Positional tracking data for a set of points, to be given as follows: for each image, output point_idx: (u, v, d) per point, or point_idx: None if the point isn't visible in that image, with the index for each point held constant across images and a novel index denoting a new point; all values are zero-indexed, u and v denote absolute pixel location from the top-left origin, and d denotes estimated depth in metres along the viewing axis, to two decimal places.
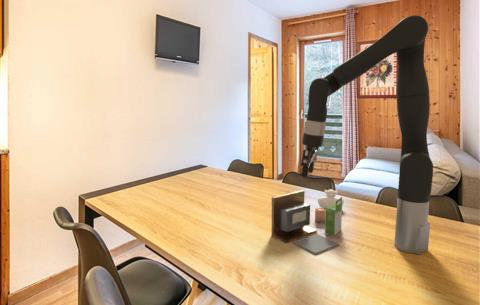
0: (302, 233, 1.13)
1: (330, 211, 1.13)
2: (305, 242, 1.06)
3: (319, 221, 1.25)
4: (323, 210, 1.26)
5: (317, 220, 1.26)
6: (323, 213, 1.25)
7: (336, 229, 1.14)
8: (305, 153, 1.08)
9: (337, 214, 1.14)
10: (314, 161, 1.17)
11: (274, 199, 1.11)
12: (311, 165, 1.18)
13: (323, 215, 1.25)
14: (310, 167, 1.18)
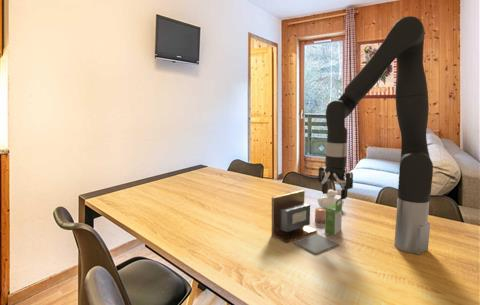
0: (302, 233, 1.13)
1: (330, 211, 1.13)
2: (305, 242, 1.06)
3: (319, 221, 1.25)
4: (323, 210, 1.26)
5: (317, 220, 1.26)
6: (323, 213, 1.25)
7: (336, 229, 1.14)
8: (350, 176, 1.07)
9: (337, 214, 1.14)
10: (328, 181, 1.18)
11: (274, 199, 1.11)
12: (326, 186, 1.18)
13: (323, 215, 1.25)
14: (326, 188, 1.18)
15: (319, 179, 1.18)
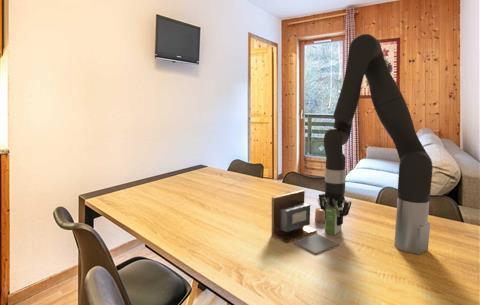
0: (302, 233, 1.13)
1: (331, 211, 1.13)
2: (305, 242, 1.06)
3: (319, 221, 1.25)
4: (323, 210, 1.26)
5: (317, 220, 1.25)
6: (323, 213, 1.25)
7: (336, 229, 1.14)
8: (348, 205, 1.09)
9: None
10: None
11: (274, 199, 1.11)
12: None
13: (323, 215, 1.25)
14: None
15: (322, 207, 1.19)
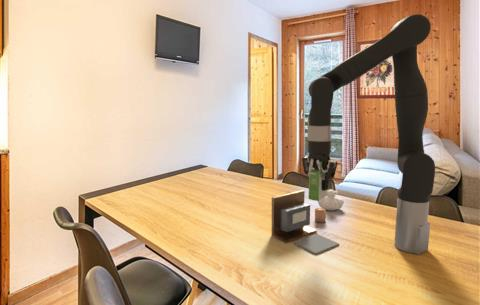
0: (302, 233, 1.13)
1: (314, 173, 0.99)
2: (305, 242, 1.06)
3: (320, 220, 1.25)
4: (323, 209, 1.26)
5: (318, 220, 1.25)
6: (324, 212, 1.25)
7: (321, 194, 1.00)
8: (333, 166, 0.96)
9: None
10: None
11: (274, 199, 1.11)
12: None
13: (324, 214, 1.25)
14: None
15: (305, 171, 1.05)
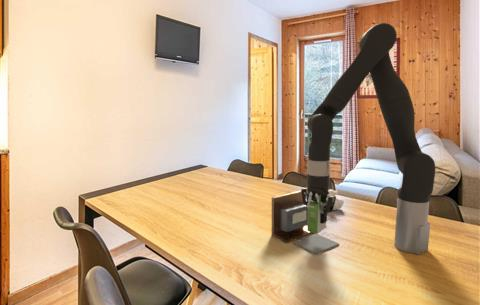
0: (302, 233, 1.13)
1: (313, 207, 1.01)
2: (305, 242, 1.06)
3: None
4: None
5: None
6: None
7: (320, 227, 1.02)
8: (332, 201, 0.98)
9: None
10: None
11: (274, 199, 1.11)
12: None
13: None
14: None
15: (304, 202, 1.07)
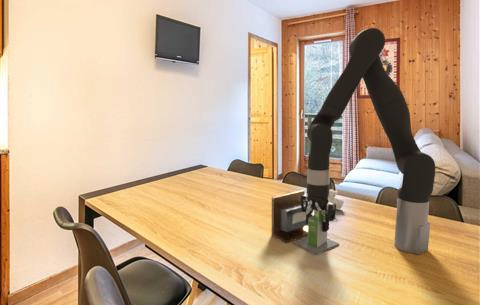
0: (302, 233, 1.13)
1: (313, 221, 1.01)
2: (305, 242, 1.06)
3: None
4: None
5: None
6: None
7: (319, 241, 1.03)
8: (332, 208, 0.98)
9: (321, 224, 1.02)
10: (312, 211, 1.07)
11: (274, 199, 1.11)
12: None
13: None
14: None
15: (302, 209, 1.08)
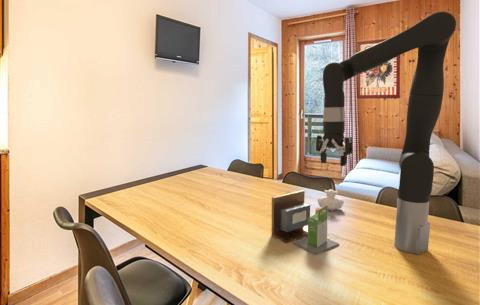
0: (302, 233, 1.13)
1: (313, 221, 1.02)
2: (305, 242, 1.06)
3: None
4: None
5: None
6: None
7: (319, 241, 1.03)
8: (349, 141, 1.04)
9: (321, 224, 1.02)
10: (326, 150, 1.14)
11: (274, 199, 1.11)
12: (325, 155, 1.14)
13: None
14: (324, 157, 1.14)
15: (317, 148, 1.14)
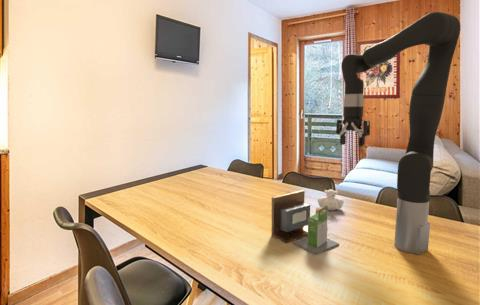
0: (302, 233, 1.13)
1: (313, 221, 1.01)
2: (305, 242, 1.06)
3: None
4: (320, 208, 1.27)
5: None
6: None
7: (319, 241, 1.03)
8: (367, 123, 1.16)
9: (321, 224, 1.02)
10: None
11: (274, 199, 1.11)
12: (344, 137, 1.26)
13: None
14: (344, 140, 1.27)
15: (337, 131, 1.27)
